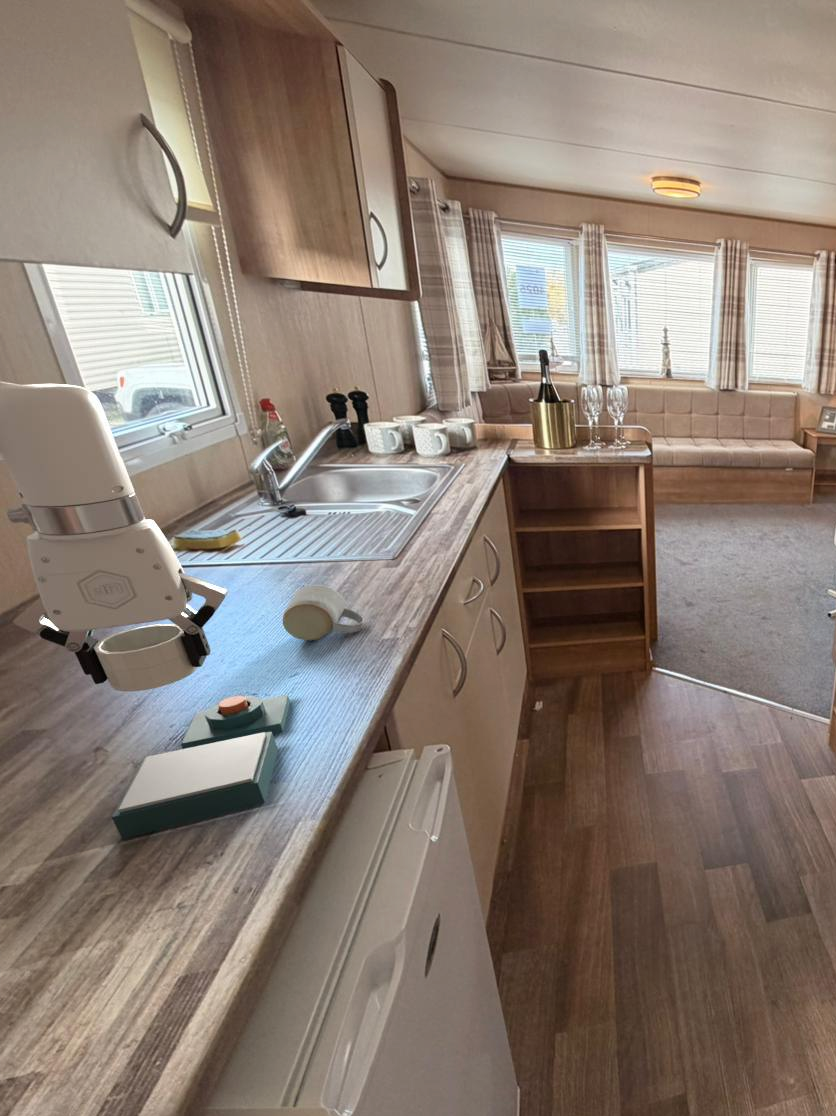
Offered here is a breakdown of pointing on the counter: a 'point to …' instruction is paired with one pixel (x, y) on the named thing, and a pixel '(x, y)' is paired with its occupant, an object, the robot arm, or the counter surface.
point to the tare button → (232, 705)
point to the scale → (197, 784)
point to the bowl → (144, 657)
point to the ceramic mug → (318, 613)
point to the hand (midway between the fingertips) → (153, 668)
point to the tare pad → (237, 721)
